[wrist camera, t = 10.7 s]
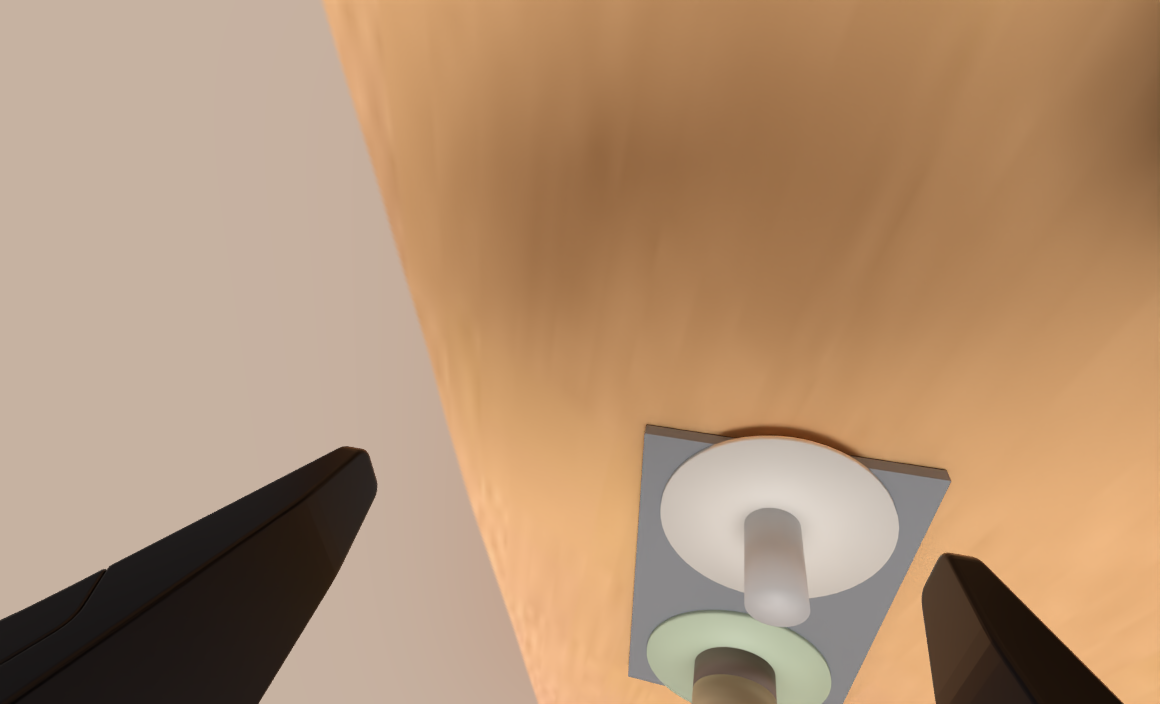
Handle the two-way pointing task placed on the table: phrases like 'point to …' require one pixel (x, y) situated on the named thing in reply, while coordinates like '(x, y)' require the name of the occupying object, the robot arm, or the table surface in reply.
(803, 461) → the board
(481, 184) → the table surface
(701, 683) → the sleeve
